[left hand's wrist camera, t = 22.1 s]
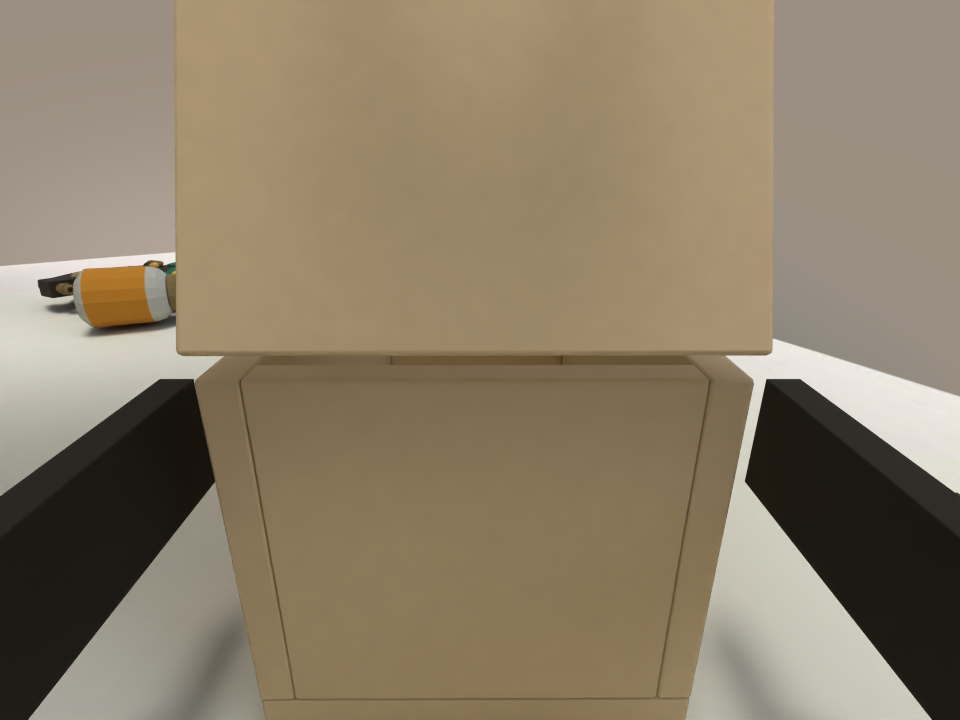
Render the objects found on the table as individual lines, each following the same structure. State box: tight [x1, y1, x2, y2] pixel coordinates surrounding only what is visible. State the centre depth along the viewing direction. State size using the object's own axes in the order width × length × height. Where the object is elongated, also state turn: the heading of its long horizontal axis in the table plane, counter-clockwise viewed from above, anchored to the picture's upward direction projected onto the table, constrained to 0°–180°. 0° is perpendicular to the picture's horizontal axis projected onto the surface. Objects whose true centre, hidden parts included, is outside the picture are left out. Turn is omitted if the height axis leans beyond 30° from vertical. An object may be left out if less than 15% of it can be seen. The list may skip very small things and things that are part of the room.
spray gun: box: [38, 260, 176, 327], centre depth 45 cm, size 4×17×15 cm
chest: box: [195, 355, 754, 720], centre depth 19 cm, size 17×10×9 cm, turn 0°
